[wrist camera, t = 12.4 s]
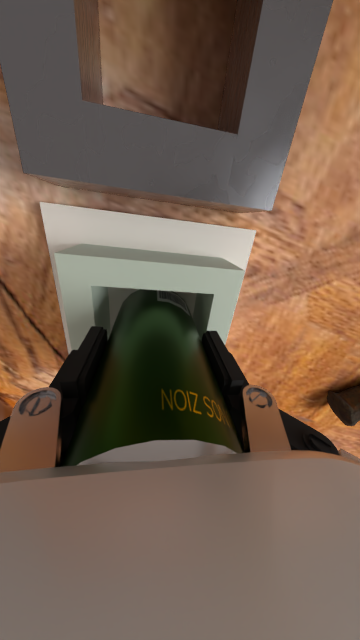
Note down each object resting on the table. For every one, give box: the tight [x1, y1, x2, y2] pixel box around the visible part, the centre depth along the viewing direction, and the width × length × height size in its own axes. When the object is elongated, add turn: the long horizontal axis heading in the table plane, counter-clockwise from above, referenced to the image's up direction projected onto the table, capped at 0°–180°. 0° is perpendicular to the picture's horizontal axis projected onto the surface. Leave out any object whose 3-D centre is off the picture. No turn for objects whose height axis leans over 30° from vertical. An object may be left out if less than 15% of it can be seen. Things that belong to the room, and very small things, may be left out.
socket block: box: [0, 0, 333, 213], centre depth 8 cm, size 12×12×4 cm
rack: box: [40, 202, 256, 354], centre depth 14 cm, size 14×14×5 cm
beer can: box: [61, 289, 245, 467], centre depth 10 cm, size 5×5×12 cm
